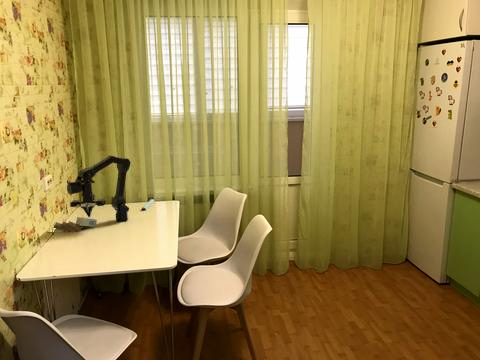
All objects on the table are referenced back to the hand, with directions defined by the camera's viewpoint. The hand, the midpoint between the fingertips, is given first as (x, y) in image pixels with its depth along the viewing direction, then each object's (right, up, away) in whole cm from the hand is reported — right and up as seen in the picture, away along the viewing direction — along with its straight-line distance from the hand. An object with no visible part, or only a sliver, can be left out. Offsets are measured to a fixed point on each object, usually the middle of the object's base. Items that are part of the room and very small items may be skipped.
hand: (89, 217), depth 231 cm
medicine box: (0, -4, +2) cm, 5 cm away
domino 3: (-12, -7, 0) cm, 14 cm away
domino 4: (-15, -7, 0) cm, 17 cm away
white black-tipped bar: (+22, +2, +48) cm, 53 cm away
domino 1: (-5, -7, 0) cm, 8 cm away
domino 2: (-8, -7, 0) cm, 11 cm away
